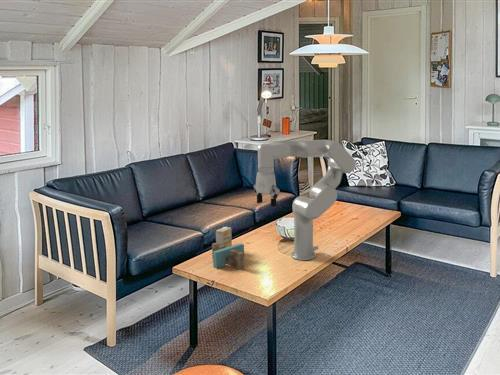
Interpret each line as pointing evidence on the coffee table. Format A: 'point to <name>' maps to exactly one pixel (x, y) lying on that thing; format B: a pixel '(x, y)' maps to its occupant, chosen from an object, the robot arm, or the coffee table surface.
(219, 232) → the supplement box
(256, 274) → the coffee table surface
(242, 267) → the brown flat notched block
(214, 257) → the teal plate
